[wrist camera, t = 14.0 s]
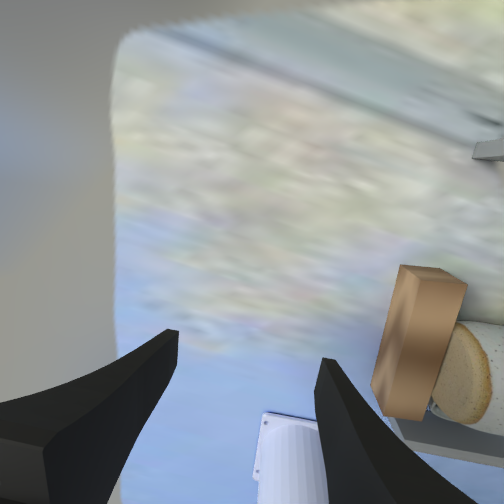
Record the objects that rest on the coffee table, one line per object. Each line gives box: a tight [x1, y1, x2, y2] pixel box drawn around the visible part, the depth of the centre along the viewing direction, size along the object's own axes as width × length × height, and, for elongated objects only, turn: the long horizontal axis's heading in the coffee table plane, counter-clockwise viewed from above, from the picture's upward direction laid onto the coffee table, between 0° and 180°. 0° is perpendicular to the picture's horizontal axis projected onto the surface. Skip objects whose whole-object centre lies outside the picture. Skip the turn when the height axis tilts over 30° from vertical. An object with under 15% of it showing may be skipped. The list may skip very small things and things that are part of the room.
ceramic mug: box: [428, 321, 504, 436], centre depth 19 cm, size 11×8×8 cm
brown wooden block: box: [370, 265, 468, 422], centre depth 21 cm, size 12×3×4 cm, turn 176°
